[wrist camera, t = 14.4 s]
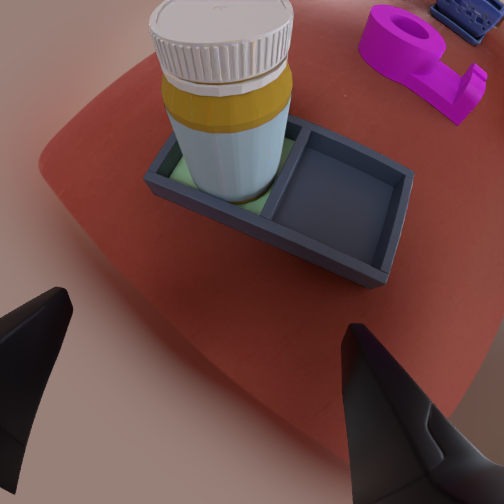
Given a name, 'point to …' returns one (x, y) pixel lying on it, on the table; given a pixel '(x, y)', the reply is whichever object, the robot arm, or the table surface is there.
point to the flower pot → (469, 17)
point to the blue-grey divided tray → (310, 201)
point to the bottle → (226, 89)
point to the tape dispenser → (419, 61)
